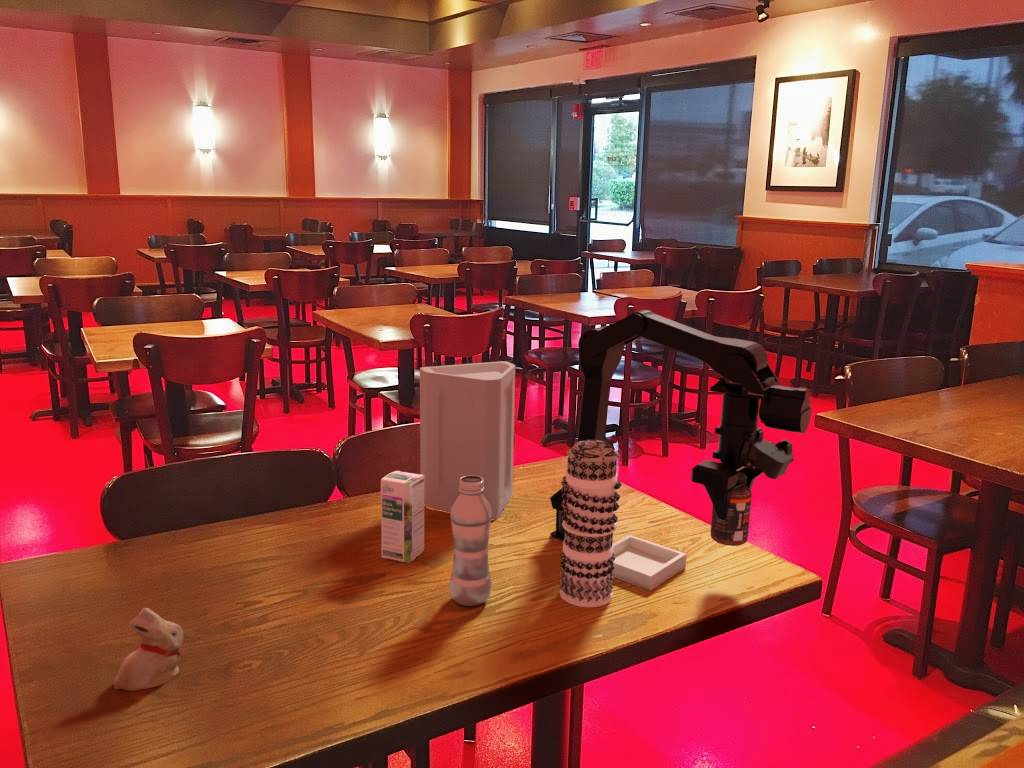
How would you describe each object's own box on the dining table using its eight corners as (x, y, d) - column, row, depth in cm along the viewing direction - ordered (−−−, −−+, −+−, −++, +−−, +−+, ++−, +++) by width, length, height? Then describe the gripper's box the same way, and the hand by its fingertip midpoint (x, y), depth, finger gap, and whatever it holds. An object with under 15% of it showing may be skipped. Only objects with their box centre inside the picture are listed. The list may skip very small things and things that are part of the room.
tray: (591, 568, 139) (591, 554, 139) (628, 547, 148) (629, 534, 147) (649, 590, 132) (650, 576, 132) (685, 567, 141) (686, 553, 140)
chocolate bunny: (175, 690, 103) (169, 618, 101) (110, 692, 103) (103, 619, 101) (188, 665, 109) (183, 597, 107) (127, 667, 108) (120, 598, 106)
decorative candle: (582, 575, 137) (589, 431, 131) (626, 595, 130) (635, 445, 125) (545, 593, 131) (550, 443, 125) (589, 614, 124) (597, 457, 118)
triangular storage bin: (445, 527, 155) (445, 383, 148) (419, 501, 168) (418, 367, 161) (535, 513, 163) (539, 375, 157) (503, 488, 176) (506, 361, 170)
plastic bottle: (497, 594, 130) (499, 475, 125) (481, 614, 123) (483, 489, 119) (459, 587, 132) (460, 469, 127) (442, 607, 125) (442, 483, 121)
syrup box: (380, 558, 142) (378, 478, 138) (397, 545, 147) (396, 468, 144) (409, 564, 139) (408, 484, 136) (425, 551, 145) (425, 473, 141)
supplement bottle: (748, 549, 131) (755, 482, 129) (710, 545, 132) (716, 479, 130) (746, 534, 137) (752, 470, 134) (709, 530, 138) (714, 467, 135)
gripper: (762, 445, 118) (752, 545, 122) (811, 420, 132) (801, 511, 135) (692, 429, 125) (685, 525, 129) (746, 407, 139) (738, 494, 142)
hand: (730, 513), depth 134 cm, fingers closed on supplement bottle, 6 cm apart
